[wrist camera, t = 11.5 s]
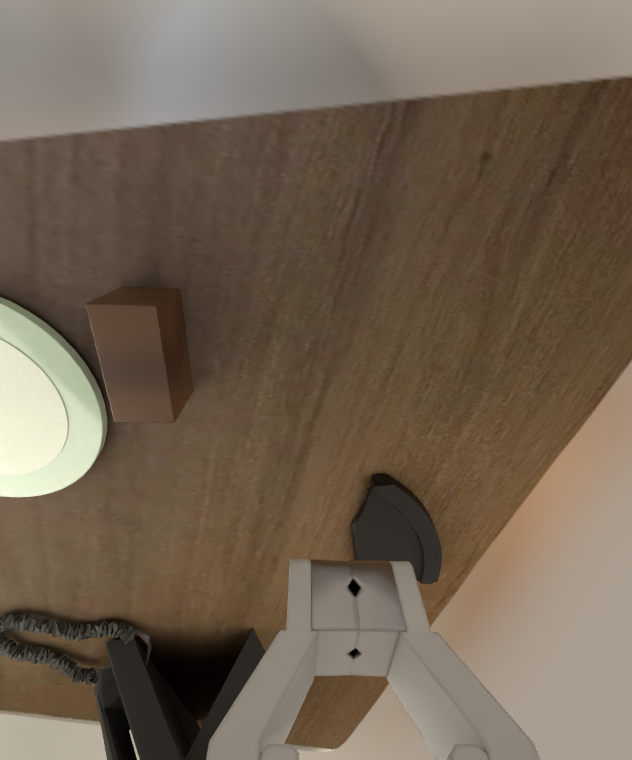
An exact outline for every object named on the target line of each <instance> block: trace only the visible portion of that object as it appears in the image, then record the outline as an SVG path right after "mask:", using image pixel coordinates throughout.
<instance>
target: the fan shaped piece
mask: <svg viewBox="0 0 632 760" xmlns="http://www.w3.org/2000/svg"><path fill="white" fill-rule="evenodd" d="M367 490H369V492H368V494H367V497H366V500H365V502H364V504H363V506H362V508H361V510H360V512H359V513H358V515H357V516H356V518H355V519H354V520H353V521H352V533H353V544H354V552H355V558H356V560H373V561H408V562H410V563H411V565H412V566H413V570H414V573H415V577H416V580H417V581H420V583H421V584H431V583H434V582H437V581H438V578H439V574H440V569H441V547H440V542H439V538H438V535H437V533H436V530H435V528H434V525H433V522H432V520H431V518H430V516H429V514H428V512H427V510H426V509H425V507H424V505H423V504H422V503H421V502H420V501H419V500H418V498H417V497H416V496H415V495H414V494H413V493H412V492H411V491H410V490H409V489H407V488H406V487H405V486H403V485H402V484H400V483H399V482H398V481H396V480H395V479H393V478H392V477H390V476H389V475H385V474H376V475H373V476H372V480H371V485H370V488H369V489H367Z"/></svg>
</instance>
